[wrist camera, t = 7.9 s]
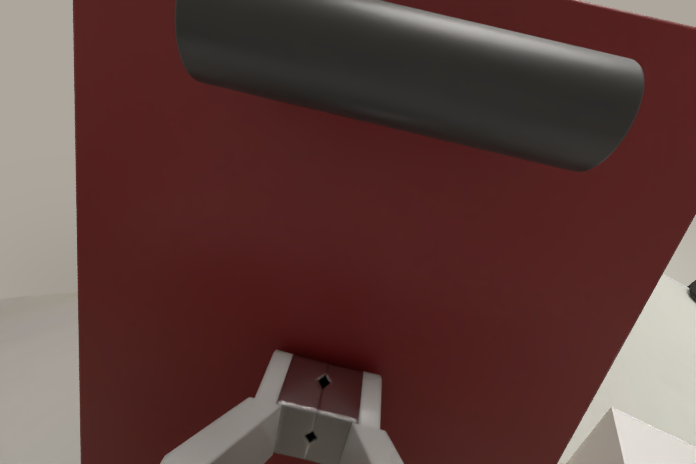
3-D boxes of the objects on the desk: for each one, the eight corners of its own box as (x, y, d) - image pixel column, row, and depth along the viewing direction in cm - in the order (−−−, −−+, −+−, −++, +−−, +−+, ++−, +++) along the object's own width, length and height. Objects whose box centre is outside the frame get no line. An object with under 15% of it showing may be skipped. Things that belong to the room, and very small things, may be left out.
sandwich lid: (111, -87, 8) (-190, -317, 4) (734, 56, 8) (1148, -14, 4) (105, 439, 13) (-29, 594, 9) (486, 536, 13) (538, 743, 9)
